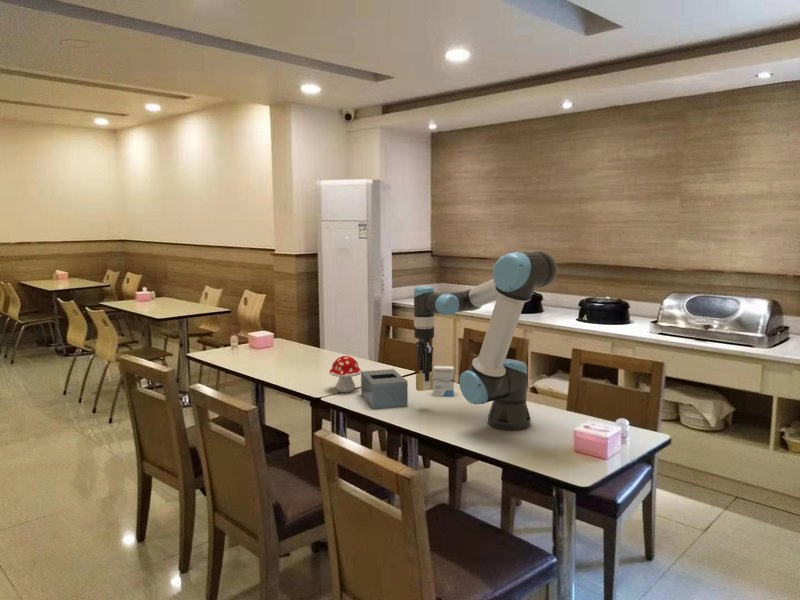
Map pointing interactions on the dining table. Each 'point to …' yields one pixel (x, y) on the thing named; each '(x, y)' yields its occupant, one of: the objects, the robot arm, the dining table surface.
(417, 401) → the dining table surface
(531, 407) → the dining table surface
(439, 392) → the ink box
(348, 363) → the decorative mushroom
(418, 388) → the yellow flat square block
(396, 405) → the coin box
